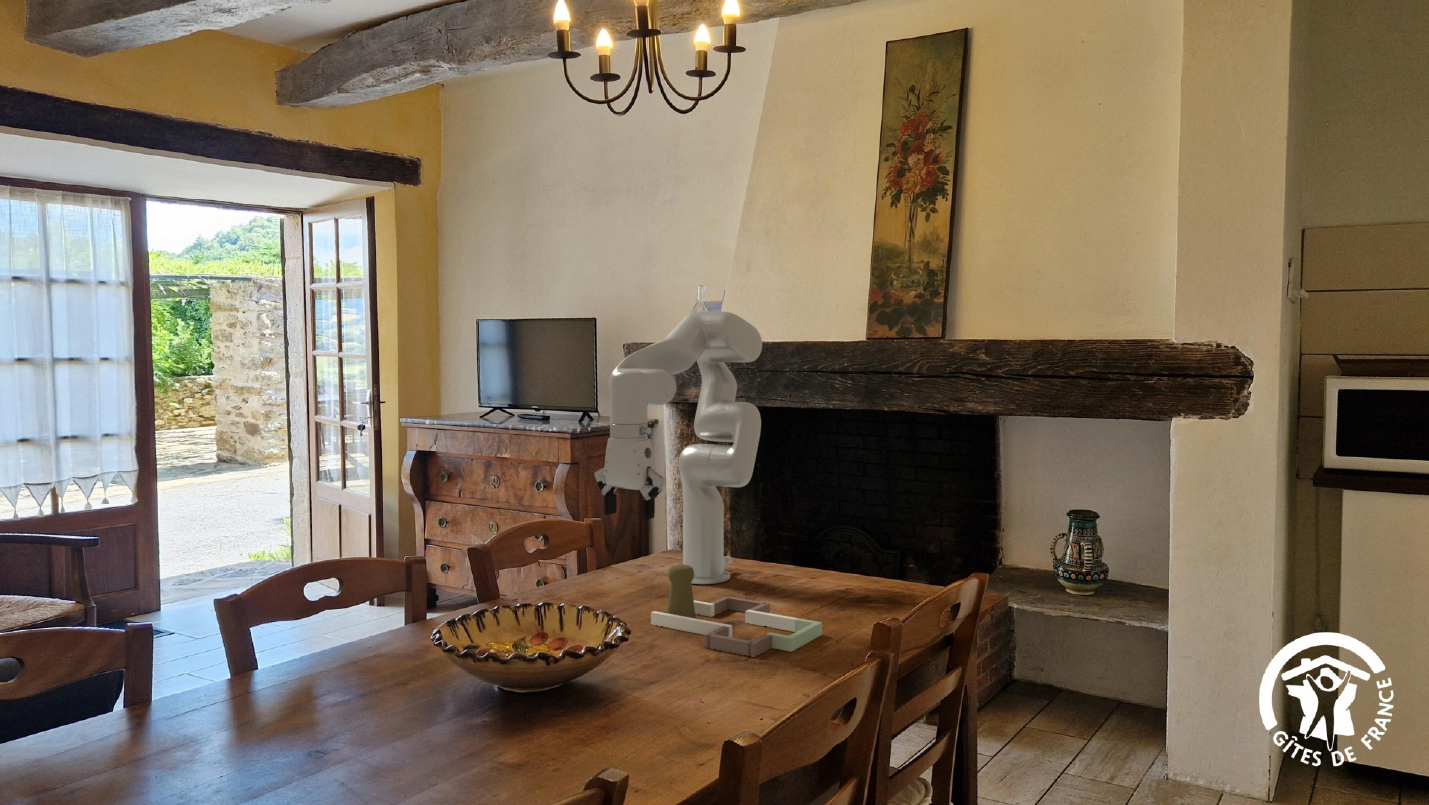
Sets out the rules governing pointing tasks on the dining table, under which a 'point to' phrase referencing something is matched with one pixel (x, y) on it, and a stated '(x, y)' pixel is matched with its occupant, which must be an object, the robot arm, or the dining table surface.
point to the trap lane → (754, 614)
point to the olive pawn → (681, 591)
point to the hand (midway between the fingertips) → (629, 516)
